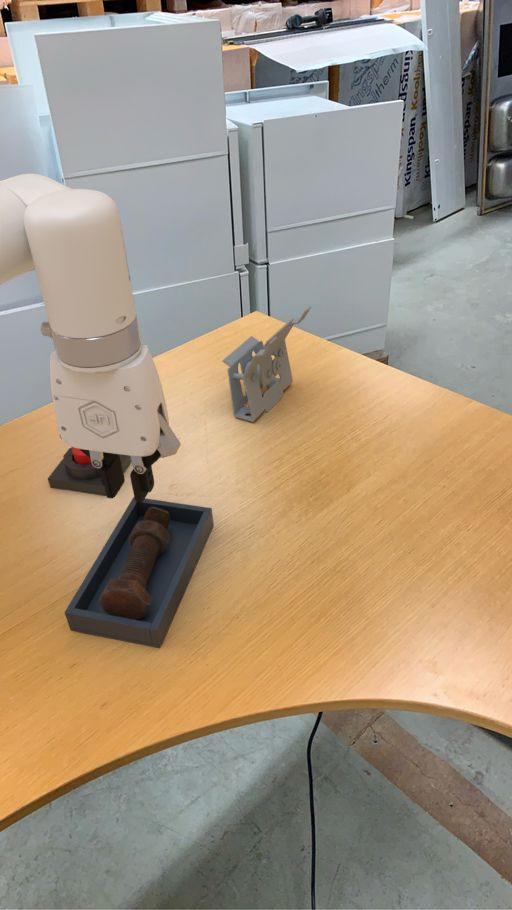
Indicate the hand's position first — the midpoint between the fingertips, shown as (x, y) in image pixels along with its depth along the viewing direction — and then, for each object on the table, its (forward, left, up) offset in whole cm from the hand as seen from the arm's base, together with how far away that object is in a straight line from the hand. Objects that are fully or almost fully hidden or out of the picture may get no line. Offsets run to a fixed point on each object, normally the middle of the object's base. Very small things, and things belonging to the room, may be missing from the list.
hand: (130, 490), depth 70 cm
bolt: (0, 0, -13) cm, 13 cm away
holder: (0, 0, -13) cm, 13 cm away
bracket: (+5, +39, -13) cm, 42 cm away
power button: (-15, +16, -10) cm, 24 cm away
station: (-15, +16, -13) cm, 26 cm away
